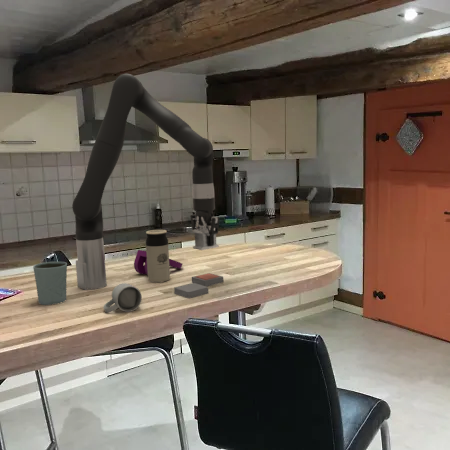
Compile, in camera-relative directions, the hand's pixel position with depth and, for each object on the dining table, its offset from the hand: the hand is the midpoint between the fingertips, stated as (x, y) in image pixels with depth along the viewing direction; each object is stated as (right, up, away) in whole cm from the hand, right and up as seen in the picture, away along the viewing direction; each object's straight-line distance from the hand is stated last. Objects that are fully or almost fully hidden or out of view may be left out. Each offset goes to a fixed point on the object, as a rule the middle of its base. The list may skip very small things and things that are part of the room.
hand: (205, 244), depth 175 cm
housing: (0, -1, 0) cm, 1 cm away
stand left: (-4, -15, -11) cm, 19 cm away
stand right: (+1, -13, +2) cm, 13 cm away
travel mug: (-17, -13, +8) cm, 23 cm away
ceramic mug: (-24, -19, -25) cm, 39 cm away
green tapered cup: (-49, -18, -13) cm, 53 cm away
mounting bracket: (-18, -12, +20) cm, 30 cm away
